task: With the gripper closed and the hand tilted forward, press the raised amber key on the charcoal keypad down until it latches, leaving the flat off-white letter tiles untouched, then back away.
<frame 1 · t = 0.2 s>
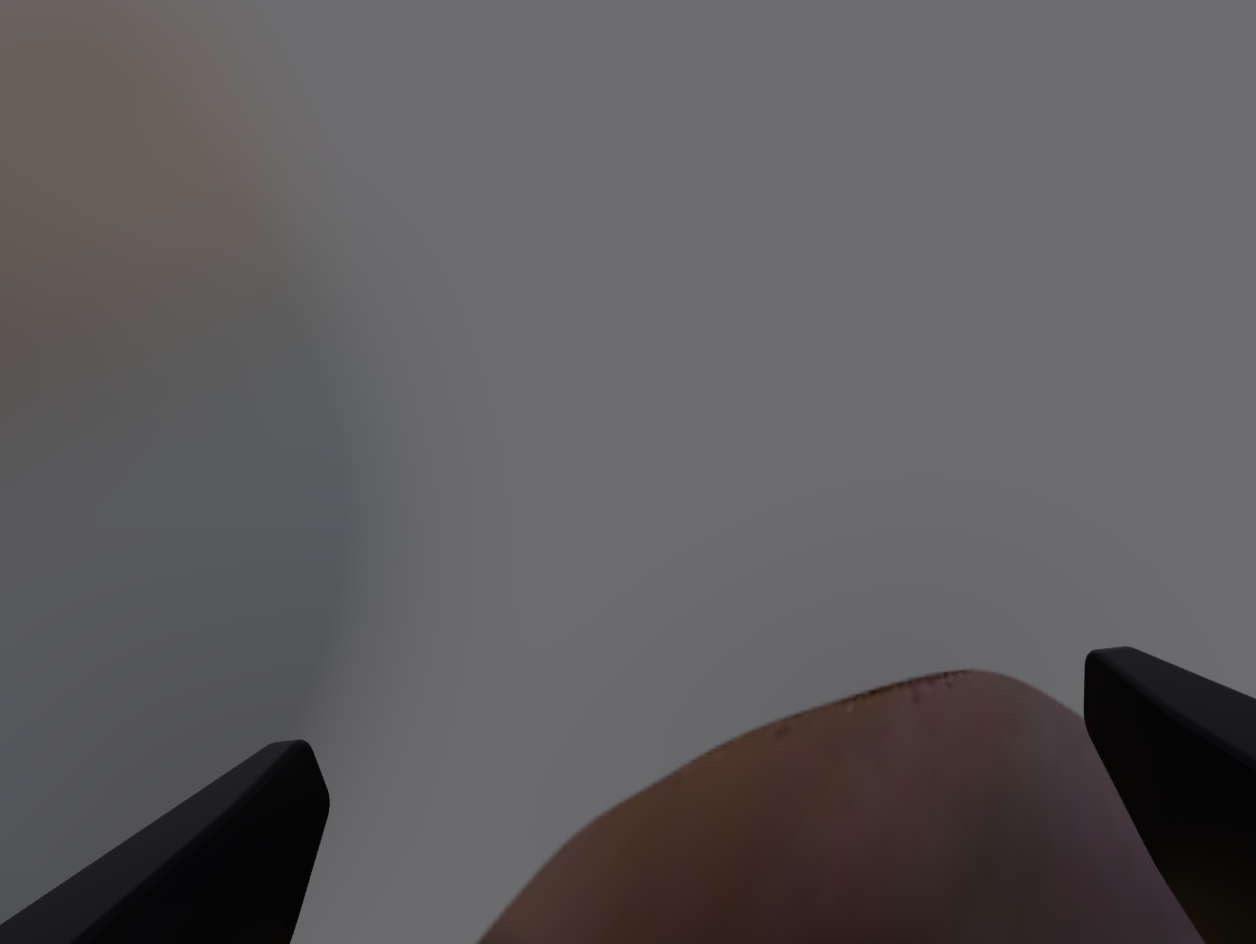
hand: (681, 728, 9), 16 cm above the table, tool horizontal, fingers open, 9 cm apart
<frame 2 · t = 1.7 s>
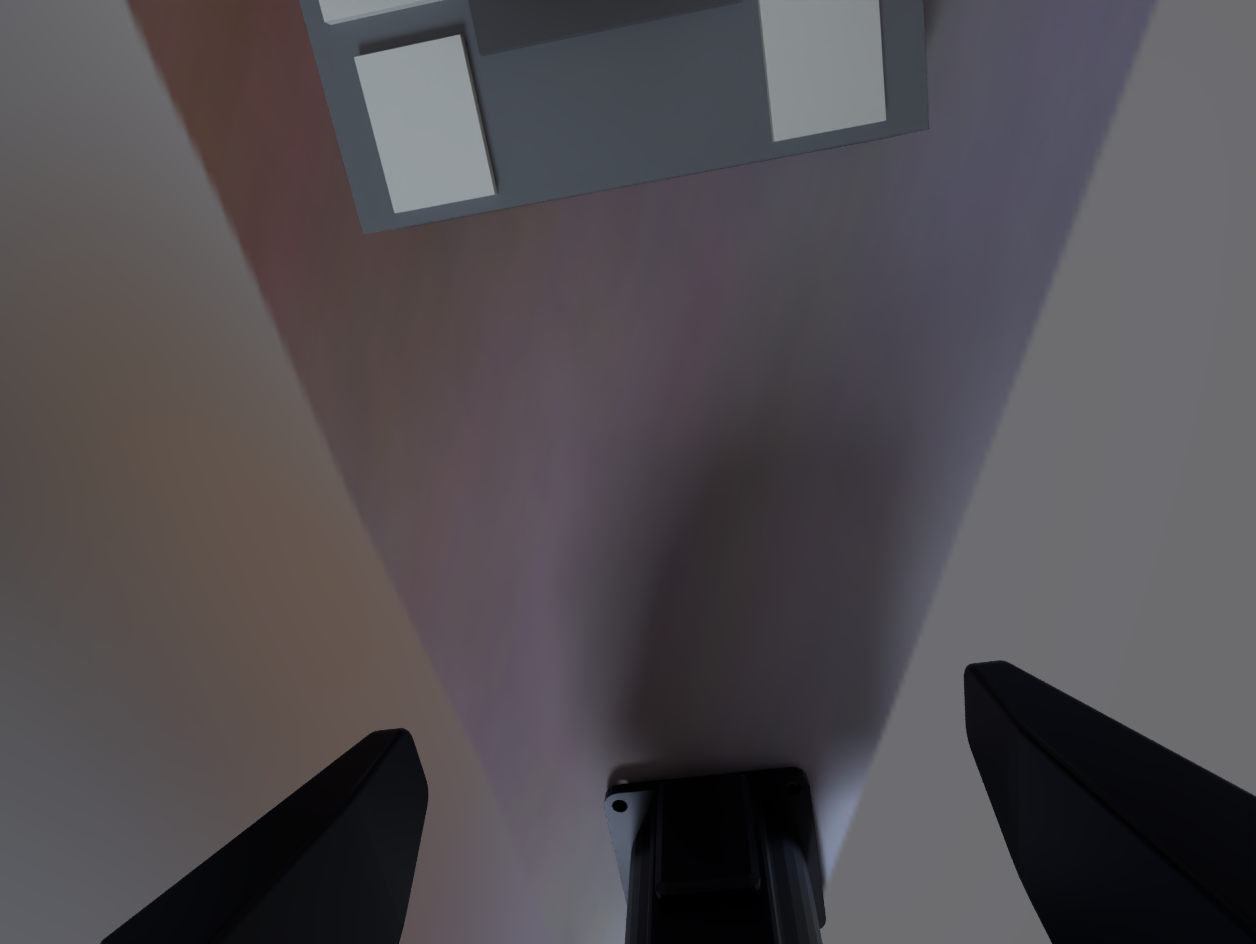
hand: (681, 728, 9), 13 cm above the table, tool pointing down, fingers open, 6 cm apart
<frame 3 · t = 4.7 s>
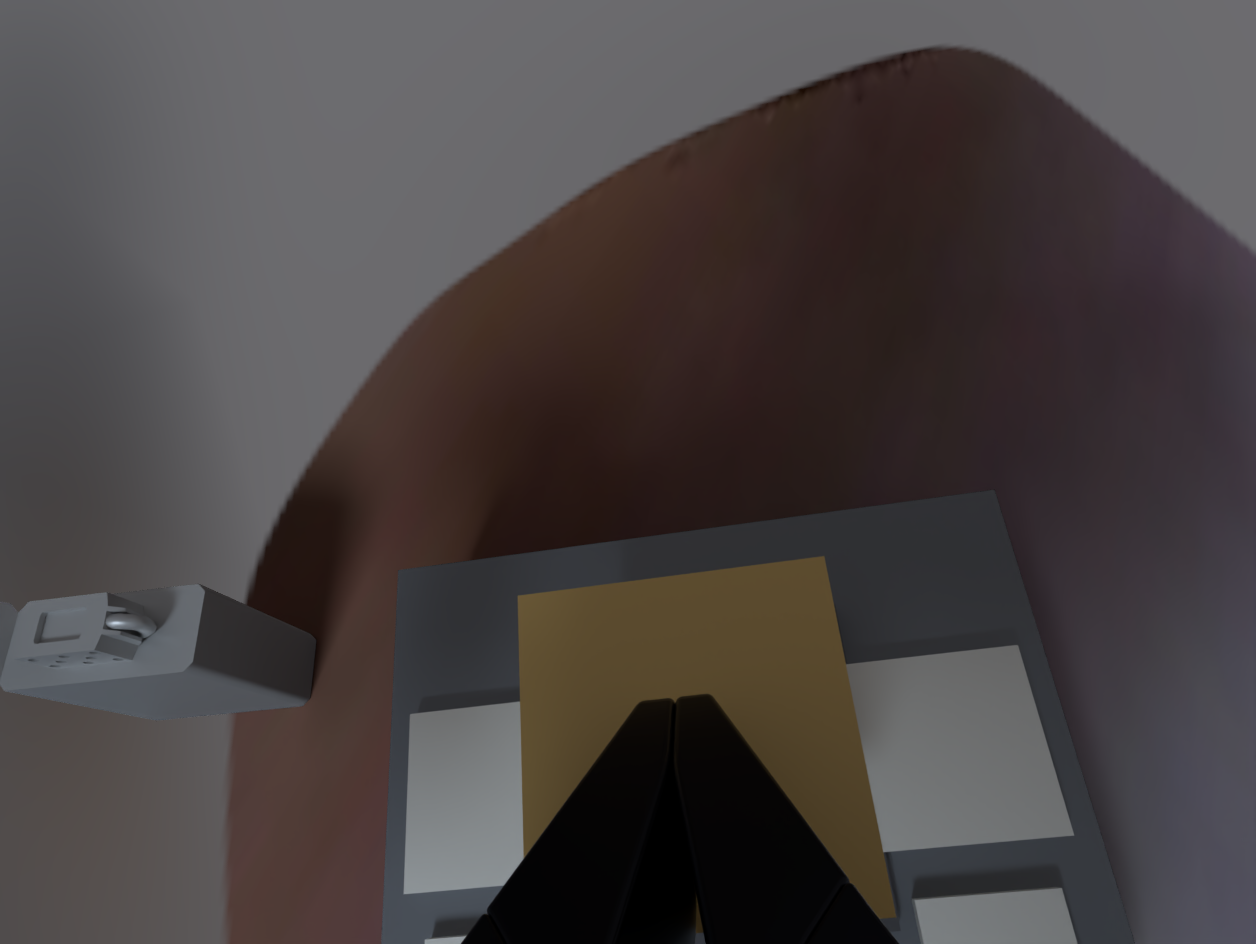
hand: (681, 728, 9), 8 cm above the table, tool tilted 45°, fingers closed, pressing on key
lighter: (183, 684, 20), on the table
key: (695, 749, 11), point 7 cm above the table, slide at -0.2 cm, touching gripper
keypad: (725, 807, 16), on the table
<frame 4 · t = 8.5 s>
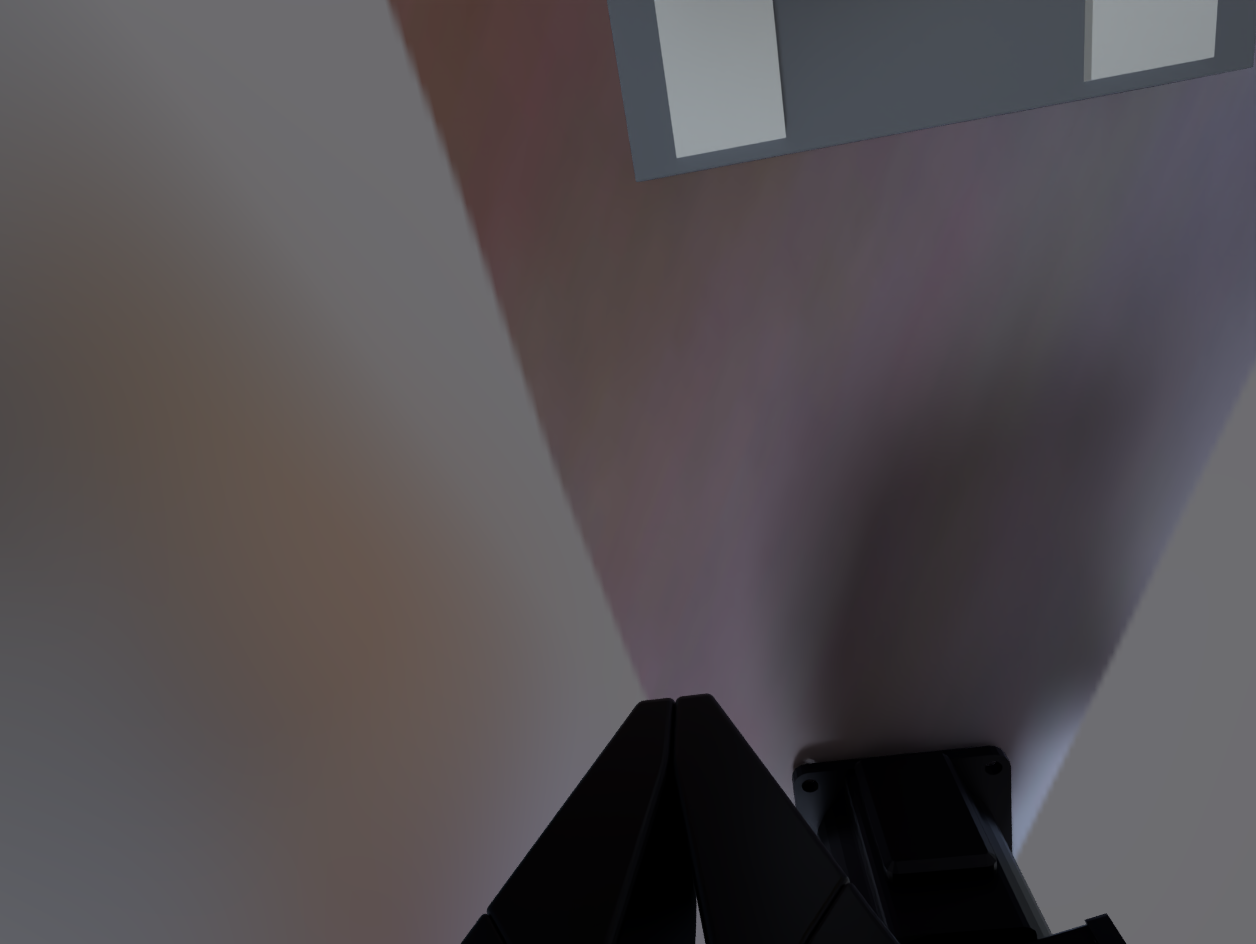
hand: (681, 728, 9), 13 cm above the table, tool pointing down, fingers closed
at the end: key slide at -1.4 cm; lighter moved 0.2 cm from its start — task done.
